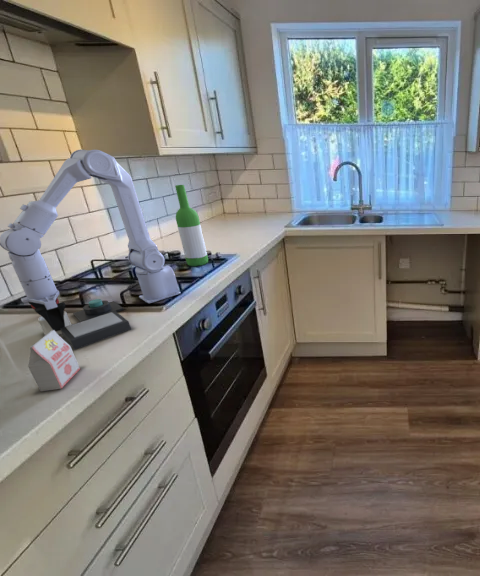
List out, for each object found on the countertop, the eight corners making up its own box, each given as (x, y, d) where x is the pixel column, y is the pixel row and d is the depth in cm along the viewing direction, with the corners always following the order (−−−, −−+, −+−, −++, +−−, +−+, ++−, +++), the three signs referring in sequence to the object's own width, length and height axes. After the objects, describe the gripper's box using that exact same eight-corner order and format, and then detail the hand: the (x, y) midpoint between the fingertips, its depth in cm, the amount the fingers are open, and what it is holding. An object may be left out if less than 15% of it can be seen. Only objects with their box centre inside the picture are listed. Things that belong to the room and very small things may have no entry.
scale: (118, 318, 100) (114, 309, 99) (131, 329, 94) (128, 320, 93) (63, 336, 91) (59, 327, 90) (74, 349, 86) (70, 339, 85)
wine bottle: (188, 262, 144) (169, 184, 132) (209, 259, 146) (192, 183, 135) (186, 268, 137) (165, 187, 125) (208, 265, 140) (190, 185, 128)
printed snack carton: (40, 391, 72) (19, 348, 68) (60, 371, 78) (42, 331, 74) (61, 388, 72) (41, 346, 68) (80, 368, 78) (62, 328, 75)
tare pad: (114, 303, 110) (111, 295, 109) (123, 310, 105) (121, 302, 104) (73, 315, 103) (70, 307, 102) (82, 323, 98) (78, 315, 97)
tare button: (101, 302, 105) (99, 298, 104) (104, 305, 103) (102, 300, 103) (88, 306, 103) (86, 301, 102) (91, 309, 101) (90, 304, 100)
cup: (69, 323, 98) (62, 308, 96) (75, 329, 95) (68, 314, 93) (42, 332, 94) (35, 316, 92) (47, 338, 91) (40, 323, 89)
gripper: (8, 276, 90) (30, 324, 95) (19, 290, 81) (43, 341, 87) (44, 268, 95) (64, 314, 100) (58, 280, 86) (78, 329, 92)
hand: (56, 326), depth 94 cm, fingers closed on cup, 6 cm apart
